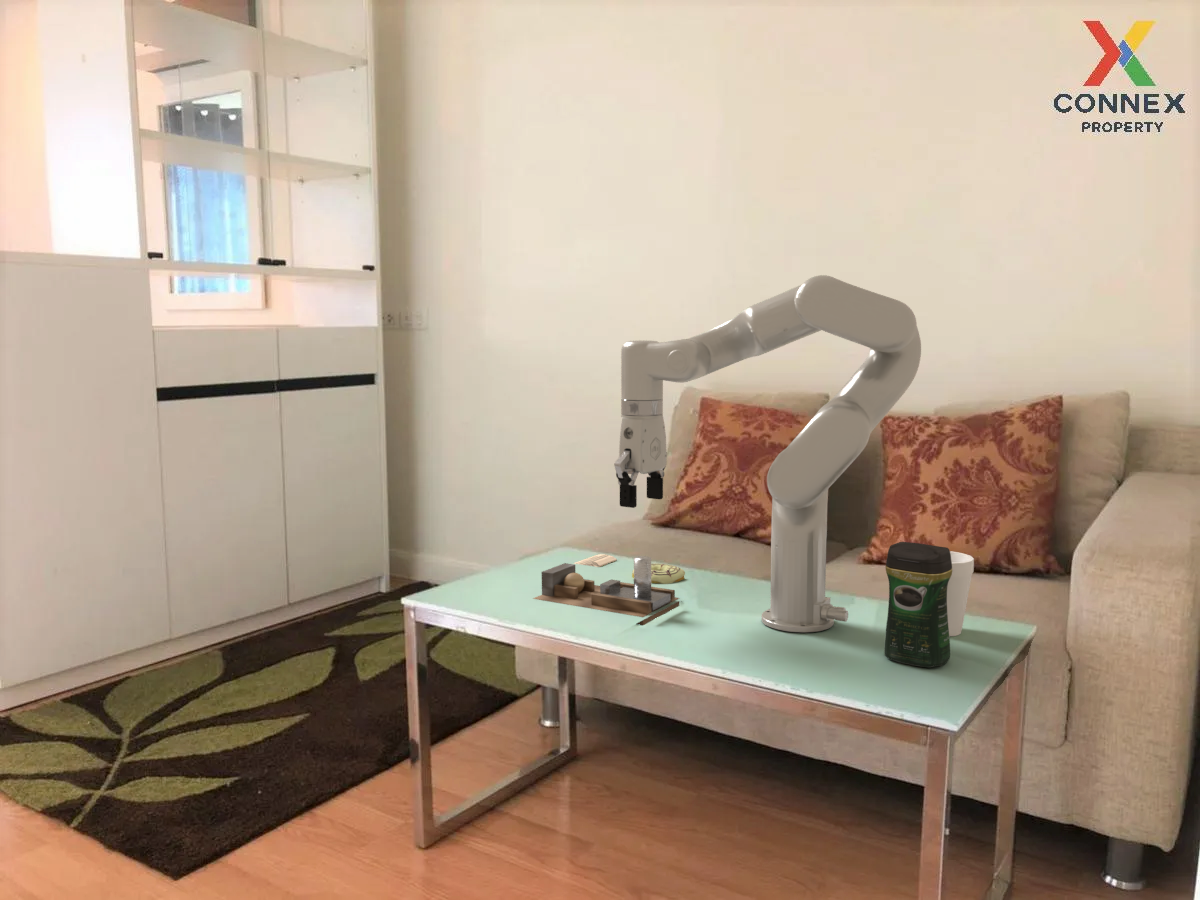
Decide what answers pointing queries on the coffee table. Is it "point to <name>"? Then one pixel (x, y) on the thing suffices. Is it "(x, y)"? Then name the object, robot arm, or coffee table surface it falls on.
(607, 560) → the newspaper
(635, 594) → the ram
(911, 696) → the coffee table surface
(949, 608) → the foam cup
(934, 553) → the coffee jar
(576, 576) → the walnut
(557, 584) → the brown piece
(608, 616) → the coffee table surface
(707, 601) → the coffee table surface
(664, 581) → the decorated donut
